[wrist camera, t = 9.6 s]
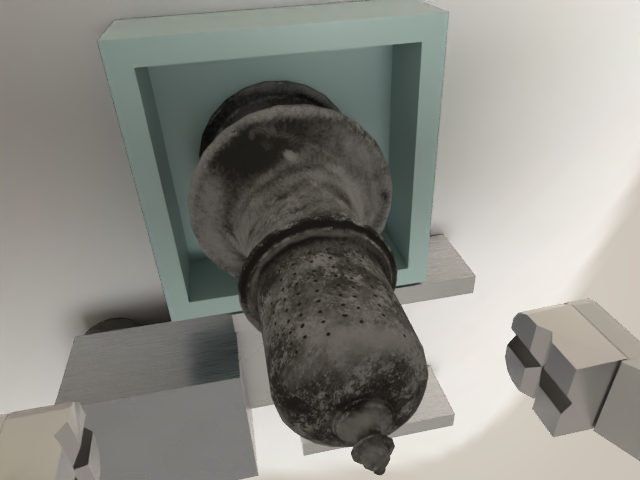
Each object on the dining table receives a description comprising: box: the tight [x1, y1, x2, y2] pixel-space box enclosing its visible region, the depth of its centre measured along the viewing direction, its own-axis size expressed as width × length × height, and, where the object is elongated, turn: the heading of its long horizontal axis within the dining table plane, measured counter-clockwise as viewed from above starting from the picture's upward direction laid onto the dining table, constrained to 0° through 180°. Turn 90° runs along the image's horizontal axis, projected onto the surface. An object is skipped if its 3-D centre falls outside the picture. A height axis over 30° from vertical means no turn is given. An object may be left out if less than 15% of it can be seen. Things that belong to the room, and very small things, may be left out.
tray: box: [97, 0, 449, 322], centre depth 17 cm, size 9×9×3 cm
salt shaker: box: [188, 81, 429, 475], centre depth 13 cm, size 6×6×12 cm
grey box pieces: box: [55, 234, 475, 480], centre depth 21 cm, size 15×9×4 cm, turn 92°
